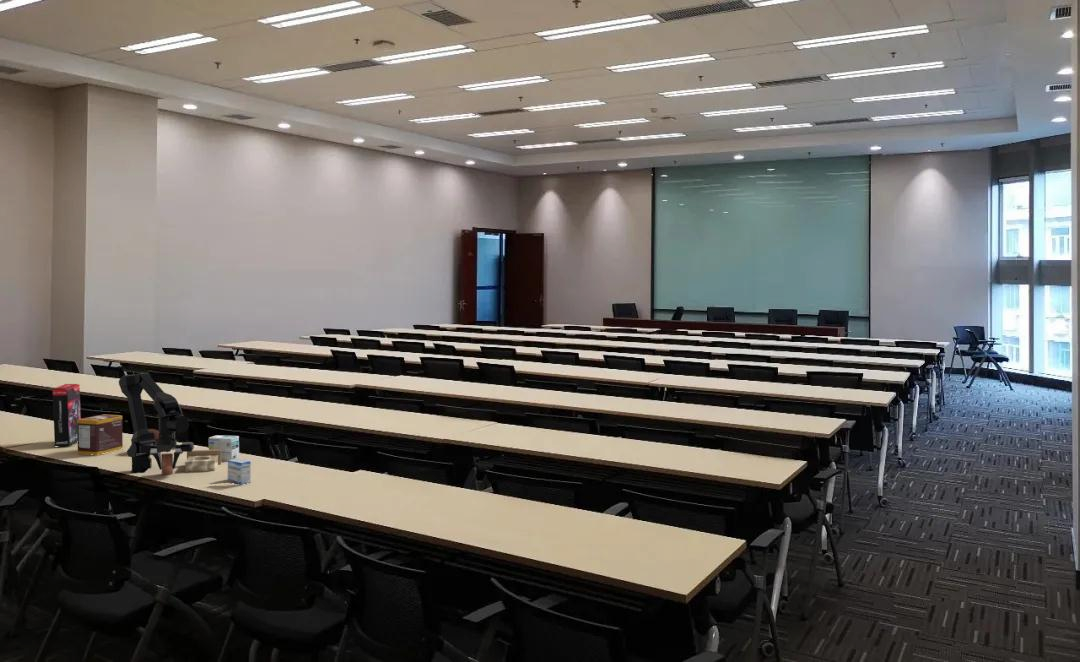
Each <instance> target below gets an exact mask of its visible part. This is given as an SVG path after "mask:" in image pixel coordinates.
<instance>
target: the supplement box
mask: <svg viewBox="0 0 1080 662" xmlns="http://www.w3.org/2000/svg"><path fill="white" fill-rule="evenodd" d="M77 434H78V442H77V454H78V453H79V454H78V455H82V454H93V455H92V456H94V455H98V454H102V453H106V452H110V451H114V450H118V449H121V448H123V447H124V446H123V434H124V433H123V415H119V414H104V413H103V414H99V415H93V416H89V417H83V418H82V417H81V419H78V420H77ZM123 449H124V448H123ZM118 451H119V450H118ZM114 452H115V451H114ZM110 453H111V452H110ZM106 454H107V453H106ZM102 455H103V454H102ZM98 456H99V455H98Z"/></svg>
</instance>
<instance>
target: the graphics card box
mask: <svg viewBox="0 0 1080 662" xmlns="http://www.w3.org/2000/svg"><path fill="white" fill-rule="evenodd" d="M80 393H81V390H80V384H79V383H64V384H62V385H59V386H56V387H54V388H52V408H53V409H52V410H53V412H52V413H53V433H54V435H53V436H54V447H55V446H69V447H71V446H73V445H74V444H76V443H78V442H77V441H78V434H77V420H78V419H82V417H81V416H82V415H81V413H82V412H81V394H80ZM75 442H76V443H75ZM72 444H73V445H72Z"/></svg>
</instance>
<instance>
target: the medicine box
mask: <svg viewBox="0 0 1080 662" xmlns="http://www.w3.org/2000/svg"><path fill="white" fill-rule="evenodd" d="M251 463H252V462H251V461H250V460H245V459H244V460H243V459H240V458H239V459H233V460H229V461H227V481H230V482H229V483H228V484H232V483H234V484H233V485H238V484H239V486H244V485H243V484H245V485H248V484H247V483H249V484H251V481H252V480H251V476H252V475H251V471H252V470H251V469H252V468H251Z"/></svg>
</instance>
